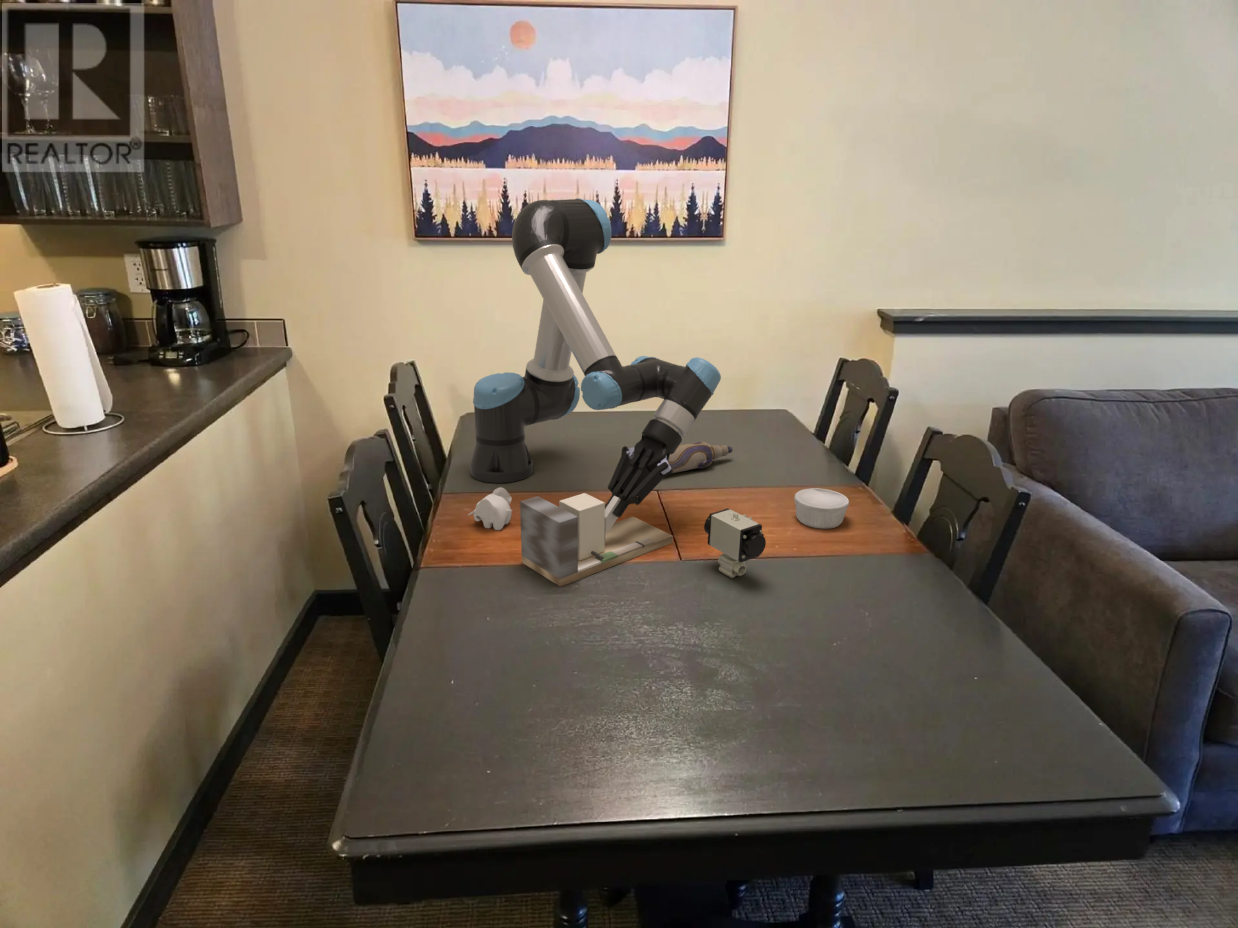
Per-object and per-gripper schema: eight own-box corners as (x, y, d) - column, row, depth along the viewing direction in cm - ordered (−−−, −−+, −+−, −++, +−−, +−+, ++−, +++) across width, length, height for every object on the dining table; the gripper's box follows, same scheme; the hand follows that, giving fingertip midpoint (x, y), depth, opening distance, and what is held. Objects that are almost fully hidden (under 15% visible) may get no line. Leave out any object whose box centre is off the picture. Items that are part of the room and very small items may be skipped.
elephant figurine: (480, 513, 173) (479, 483, 170) (521, 520, 170) (520, 489, 167) (462, 528, 166) (460, 496, 164) (504, 535, 163) (503, 503, 161)
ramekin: (850, 515, 175) (853, 493, 173) (841, 535, 166) (843, 512, 164) (799, 506, 179) (801, 484, 178) (787, 525, 170) (789, 502, 168)
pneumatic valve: (744, 589, 144) (749, 528, 140) (701, 563, 153) (704, 505, 149) (766, 580, 147) (771, 520, 143) (722, 556, 156) (726, 499, 152)
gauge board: (521, 562, 152) (519, 501, 148) (632, 522, 170) (633, 467, 165) (560, 586, 144) (559, 522, 139) (672, 542, 161) (675, 484, 157)
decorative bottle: (653, 483, 191) (654, 456, 189) (637, 473, 197) (637, 447, 195) (741, 465, 203) (742, 440, 201) (723, 456, 209) (724, 431, 207)
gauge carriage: (553, 551, 153) (552, 502, 149) (587, 539, 158) (587, 492, 154) (583, 568, 146) (583, 518, 143) (617, 555, 151) (617, 506, 148)
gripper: (699, 446, 158) (634, 548, 153) (654, 430, 167) (591, 525, 162) (681, 426, 153) (613, 530, 148) (635, 410, 162) (570, 508, 157)
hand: (602, 527), depth 155 cm, fingers closed
